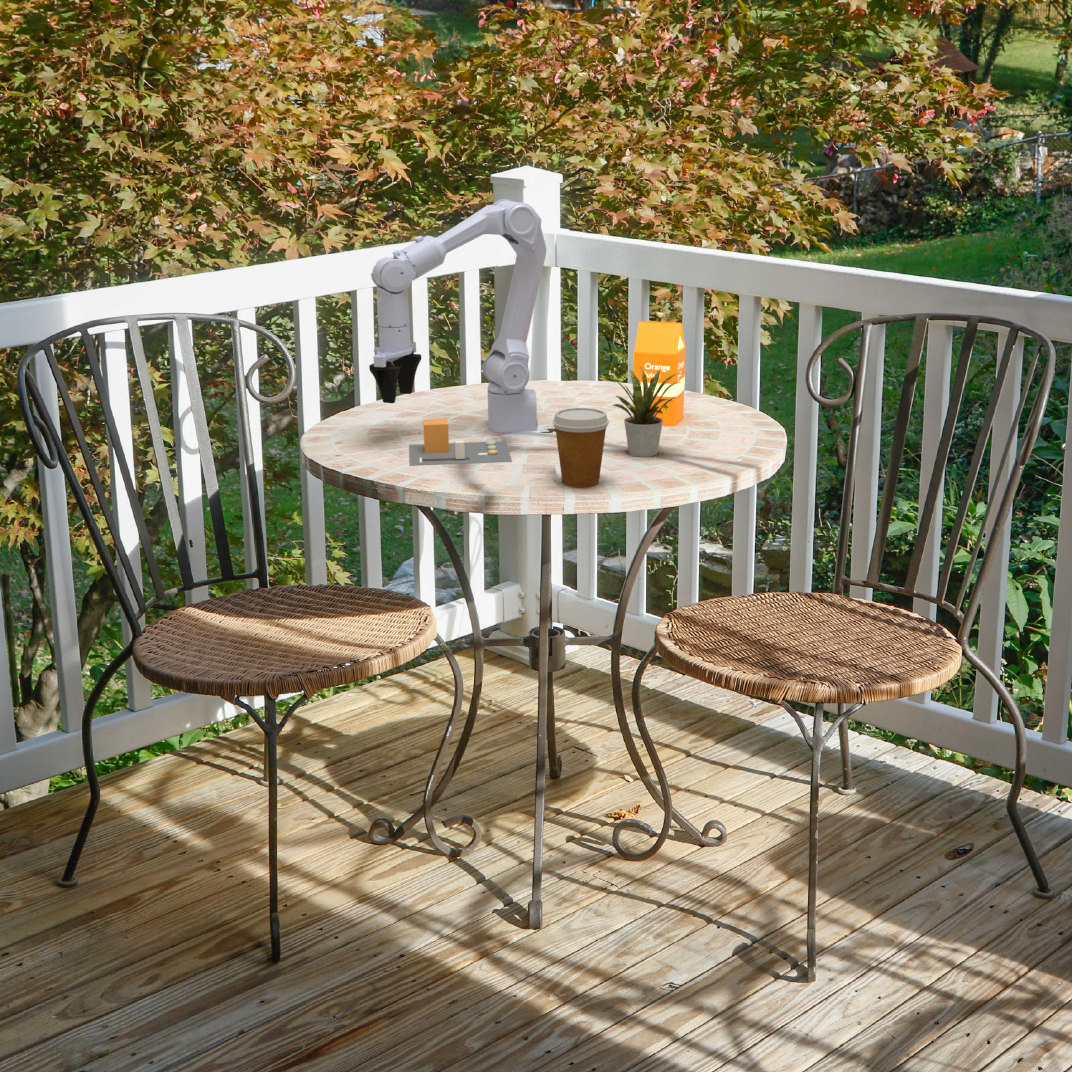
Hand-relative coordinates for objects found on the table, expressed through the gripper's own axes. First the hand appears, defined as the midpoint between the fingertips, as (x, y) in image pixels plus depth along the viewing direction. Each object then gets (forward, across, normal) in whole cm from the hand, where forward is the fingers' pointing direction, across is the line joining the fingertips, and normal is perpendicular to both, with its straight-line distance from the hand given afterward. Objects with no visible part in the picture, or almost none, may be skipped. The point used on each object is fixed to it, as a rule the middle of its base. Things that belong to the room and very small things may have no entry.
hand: (397, 397), depth 243 cm
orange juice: (+10, -33, +42) cm, 54 cm away
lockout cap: (+8, +4, +9) cm, 13 cm away
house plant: (+10, -9, +46) cm, 48 cm away
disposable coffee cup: (+10, +12, +39) cm, 42 cm away
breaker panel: (+10, +6, +14) cm, 18 cm away
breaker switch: (+8, +9, +16) cm, 20 cm away
